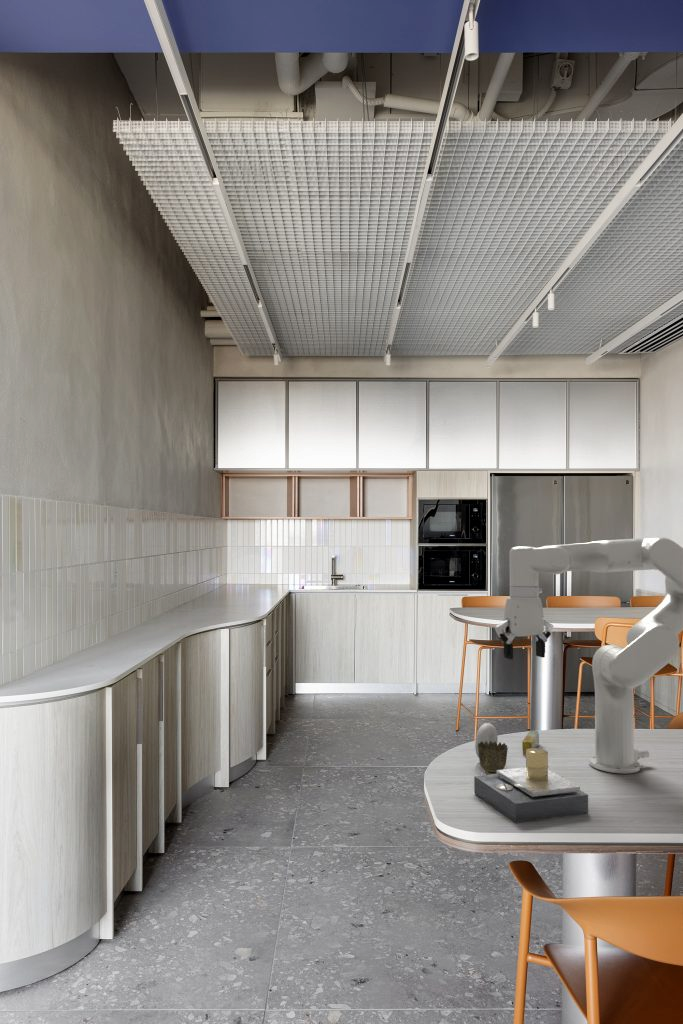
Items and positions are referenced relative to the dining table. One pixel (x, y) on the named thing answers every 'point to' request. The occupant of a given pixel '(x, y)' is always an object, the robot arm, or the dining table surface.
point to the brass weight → (537, 764)
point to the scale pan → (534, 788)
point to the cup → (492, 756)
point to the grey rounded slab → (485, 735)
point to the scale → (527, 800)
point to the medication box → (530, 741)
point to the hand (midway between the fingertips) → (524, 657)
